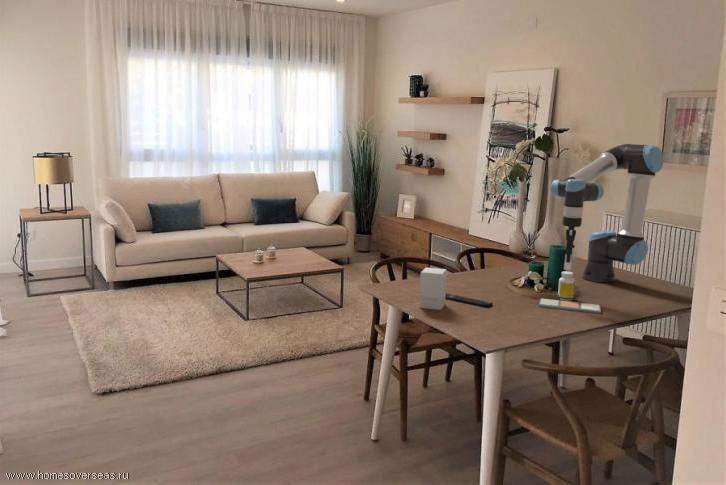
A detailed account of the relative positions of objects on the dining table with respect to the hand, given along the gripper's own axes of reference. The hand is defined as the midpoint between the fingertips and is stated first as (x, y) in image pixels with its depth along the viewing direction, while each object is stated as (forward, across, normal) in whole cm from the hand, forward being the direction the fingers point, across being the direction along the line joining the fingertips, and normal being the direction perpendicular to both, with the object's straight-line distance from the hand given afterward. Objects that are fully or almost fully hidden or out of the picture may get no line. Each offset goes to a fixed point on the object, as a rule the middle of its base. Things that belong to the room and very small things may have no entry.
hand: (567, 266), depth 270 cm
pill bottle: (+15, 0, 0) cm, 15 cm away
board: (+14, +11, +2) cm, 18 cm away
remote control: (+16, +20, -40) cm, 47 cm away
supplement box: (+16, +32, -50) cm, 61 cm away
